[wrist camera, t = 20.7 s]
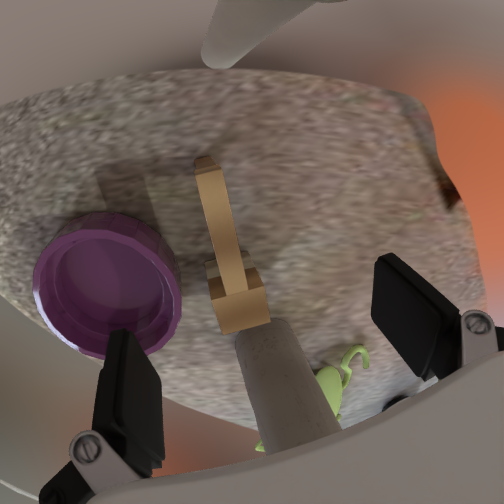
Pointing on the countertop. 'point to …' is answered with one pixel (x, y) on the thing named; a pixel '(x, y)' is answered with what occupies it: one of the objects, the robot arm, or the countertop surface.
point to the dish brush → (228, 258)
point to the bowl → (108, 283)
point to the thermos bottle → (282, 388)
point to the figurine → (335, 381)
